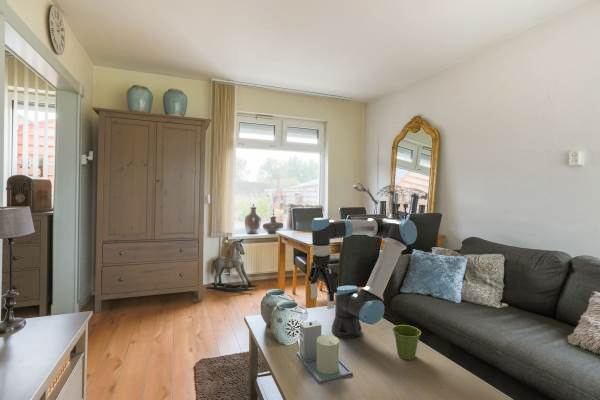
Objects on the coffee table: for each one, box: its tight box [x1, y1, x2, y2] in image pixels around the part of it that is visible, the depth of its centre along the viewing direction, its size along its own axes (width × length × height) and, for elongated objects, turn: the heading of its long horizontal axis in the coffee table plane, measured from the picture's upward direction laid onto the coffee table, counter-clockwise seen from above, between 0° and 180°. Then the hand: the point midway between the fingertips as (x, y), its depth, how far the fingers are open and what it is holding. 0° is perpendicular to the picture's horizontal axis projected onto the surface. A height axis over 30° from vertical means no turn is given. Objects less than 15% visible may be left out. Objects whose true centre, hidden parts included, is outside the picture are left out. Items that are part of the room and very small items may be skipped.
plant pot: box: [392, 324, 422, 361], centre depth 138 cm, size 12×12×11 cm
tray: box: [303, 358, 354, 384], centre depth 127 cm, size 15×15×1 cm
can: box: [316, 334, 340, 374], centre depth 127 cm, size 9×9×12 cm
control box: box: [296, 320, 322, 363], centre depth 137 cm, size 10×7×15 cm
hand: (322, 302), depth 136 cm, fingers open, 13 cm apart
